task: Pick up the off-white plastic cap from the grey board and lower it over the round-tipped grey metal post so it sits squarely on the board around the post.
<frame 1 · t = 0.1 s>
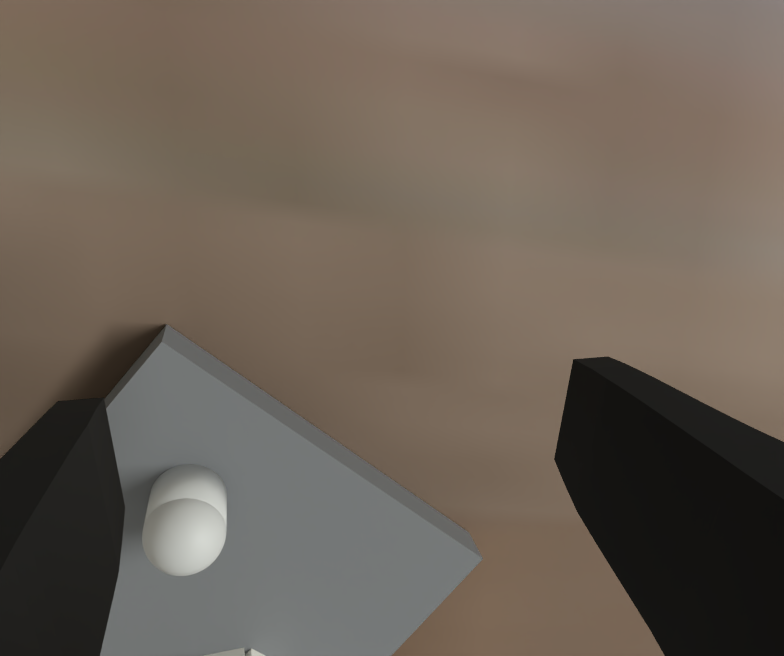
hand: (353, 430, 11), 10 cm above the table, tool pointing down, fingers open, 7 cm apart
board: (209, 579, 23), on the table
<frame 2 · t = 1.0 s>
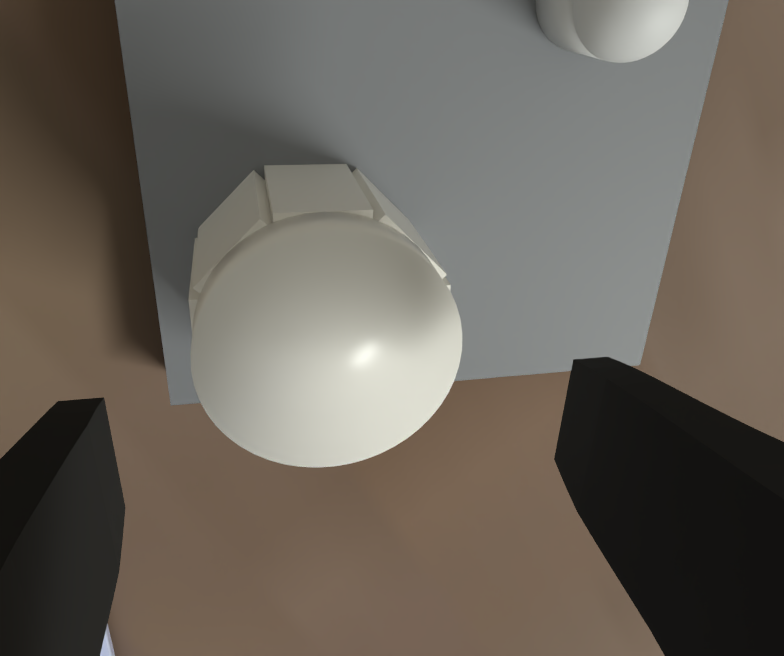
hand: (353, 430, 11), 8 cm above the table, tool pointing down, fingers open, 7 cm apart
board: (422, 125, 17), on the table
cap: (308, 269, 16), point 1 cm above the table, touching board
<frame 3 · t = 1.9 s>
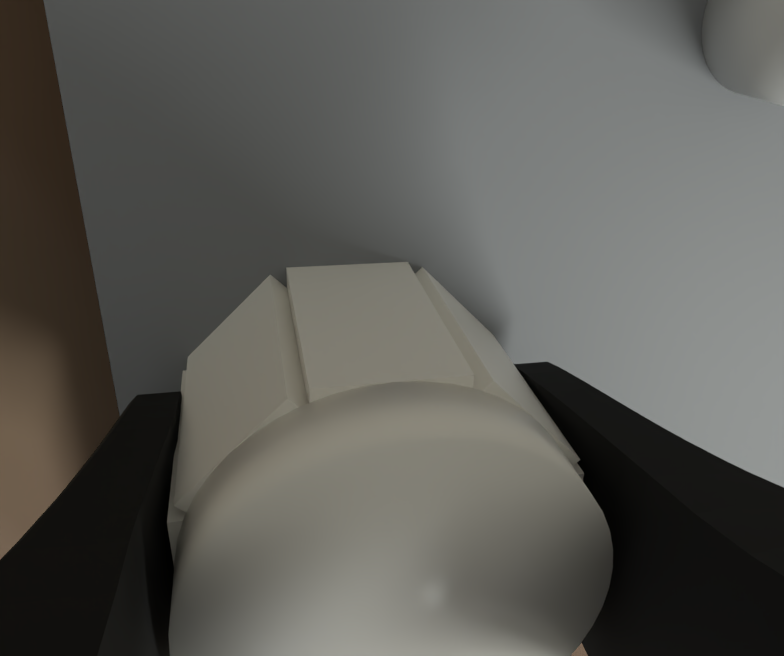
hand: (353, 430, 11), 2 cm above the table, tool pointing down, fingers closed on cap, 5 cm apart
board: (508, 195, 12), on the table
cap: (346, 405, 11), point 2 cm above the table, touching board, gripper
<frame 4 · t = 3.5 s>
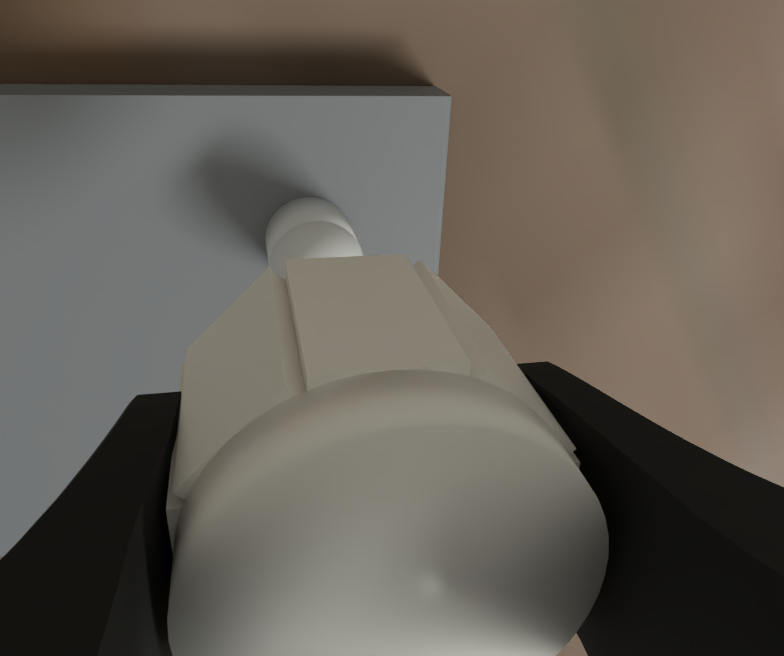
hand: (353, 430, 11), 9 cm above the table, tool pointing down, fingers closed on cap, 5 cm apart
board: (200, 323, 20), on the table
cap: (345, 397, 11), point 9 cm above the table, touching gripper
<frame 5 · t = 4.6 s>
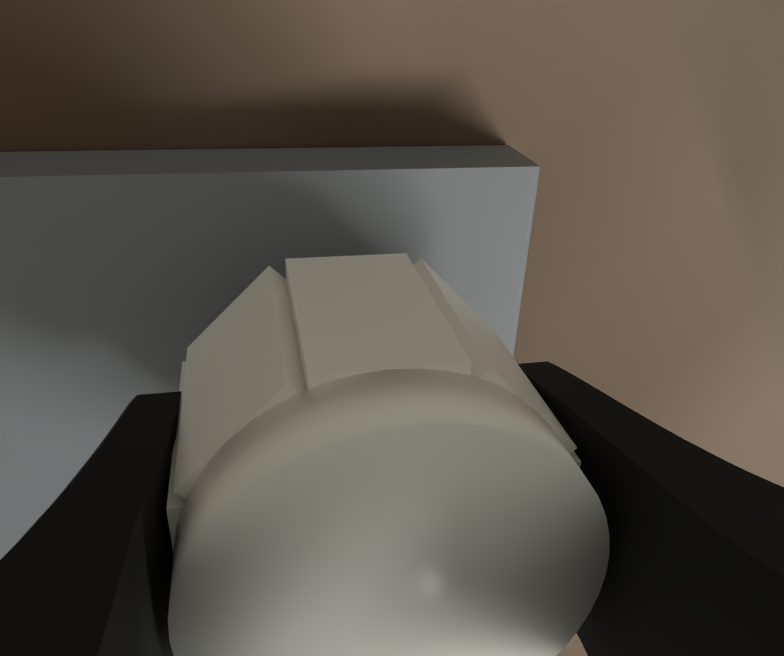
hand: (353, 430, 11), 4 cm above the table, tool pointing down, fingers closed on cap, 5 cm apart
board: (185, 455, 15), on the table
cap: (345, 396, 11), point 3 cm above the table, touching gripper
when the fingers open (3 cm above the table, at t = 5.2 s): cap drops 1 cm, resting on board.
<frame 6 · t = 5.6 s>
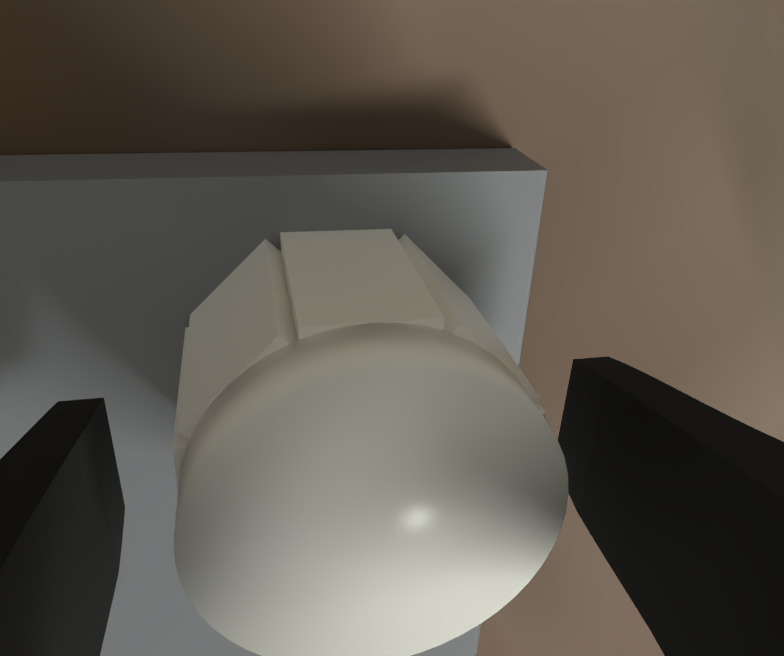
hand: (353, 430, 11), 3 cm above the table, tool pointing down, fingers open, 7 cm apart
board: (185, 463, 14), on the table
cap: (335, 363, 12), point 1 cm above the table, touching board
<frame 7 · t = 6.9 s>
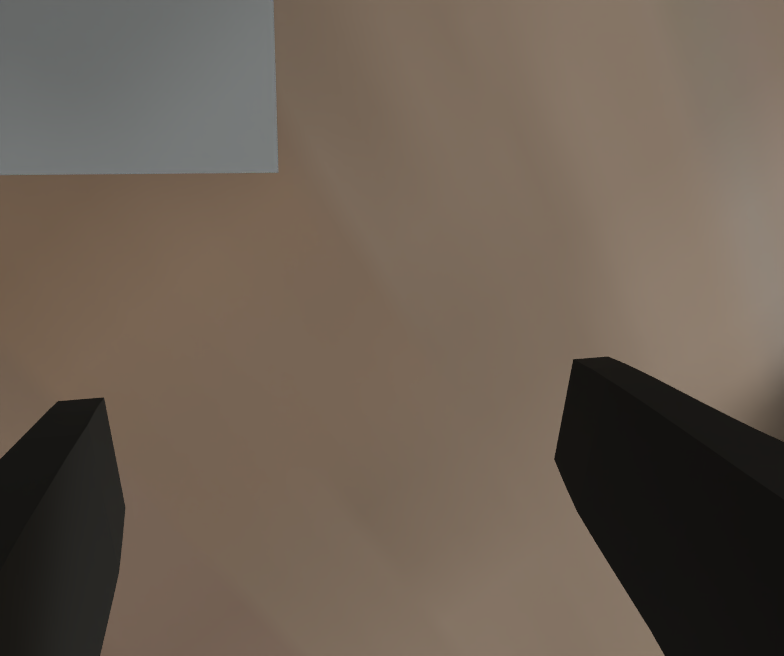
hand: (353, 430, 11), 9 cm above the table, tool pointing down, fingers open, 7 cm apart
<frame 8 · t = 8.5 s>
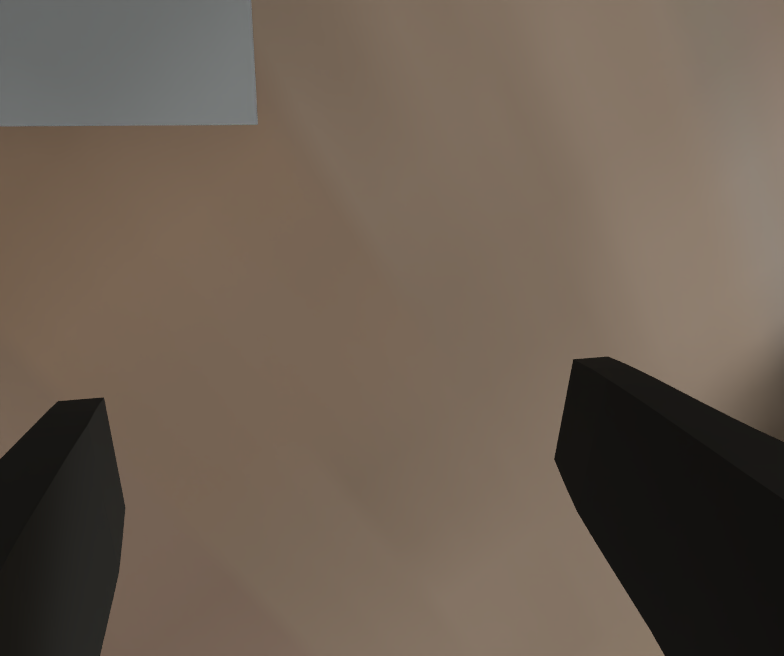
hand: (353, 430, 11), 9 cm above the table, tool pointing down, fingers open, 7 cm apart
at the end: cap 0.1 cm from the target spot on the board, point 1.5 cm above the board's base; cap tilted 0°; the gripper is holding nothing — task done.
